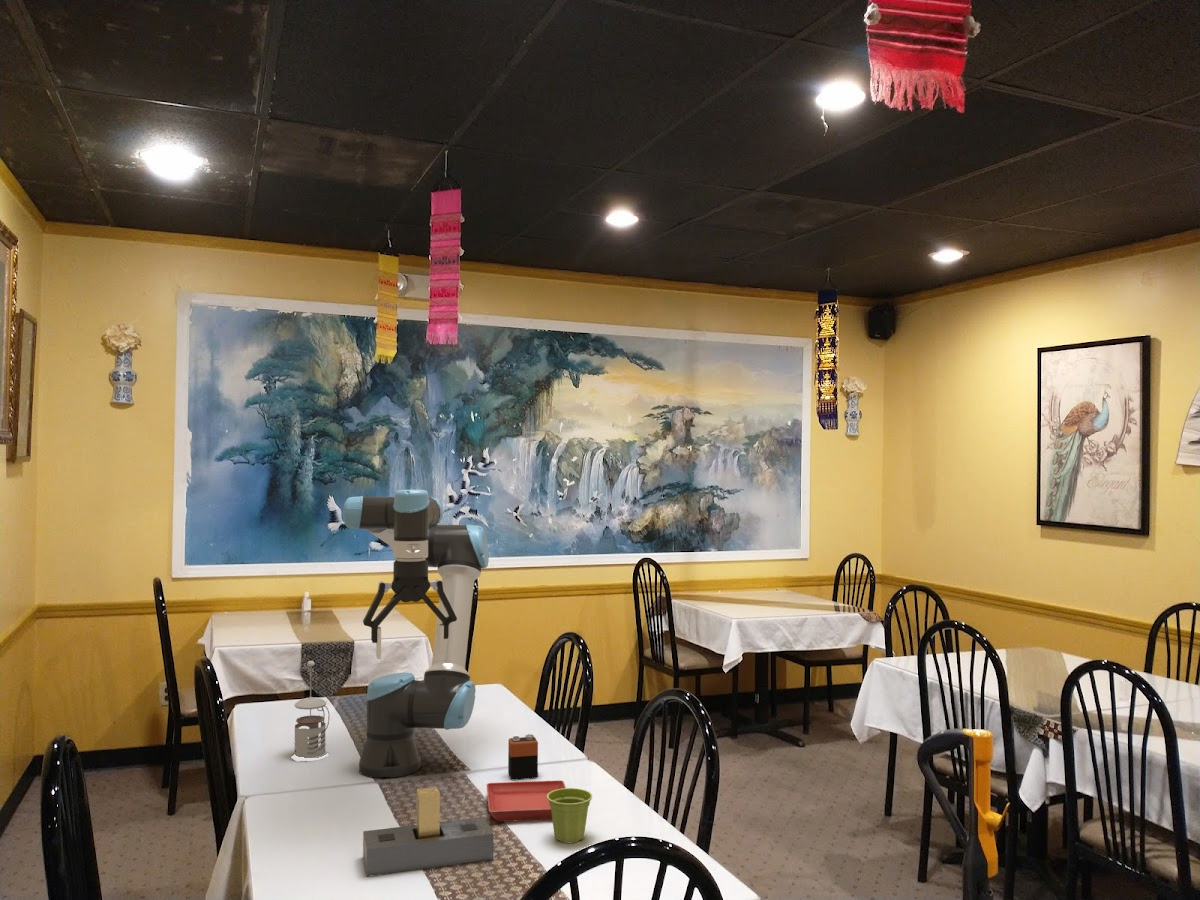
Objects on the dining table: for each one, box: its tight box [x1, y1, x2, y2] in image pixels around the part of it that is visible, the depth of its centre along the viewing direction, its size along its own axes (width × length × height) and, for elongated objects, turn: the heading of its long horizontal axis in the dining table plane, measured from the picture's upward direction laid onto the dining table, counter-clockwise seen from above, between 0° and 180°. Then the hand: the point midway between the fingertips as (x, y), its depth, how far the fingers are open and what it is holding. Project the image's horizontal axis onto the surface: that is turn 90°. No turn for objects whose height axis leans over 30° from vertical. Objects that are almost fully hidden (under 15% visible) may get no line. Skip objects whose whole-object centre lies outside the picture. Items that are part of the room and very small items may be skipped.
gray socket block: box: [362, 816, 494, 877], centre depth 180 cm, size 24×9×5 cm, turn 109°
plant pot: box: [547, 787, 593, 844], centre depth 190 cm, size 9×9×9 cm
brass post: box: [415, 786, 441, 840], centre depth 180 cm, size 4×4×12 cm
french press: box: [293, 660, 330, 758], centre depth 243 cm, size 10×12×25 cm
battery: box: [507, 733, 539, 780], centre depth 227 cm, size 4×7×10 cm, turn 104°
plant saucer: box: [486, 779, 567, 822], centre depth 207 cm, size 18×18×3 cm
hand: (410, 655), depth 203 cm, fingers open, 13 cm apart
